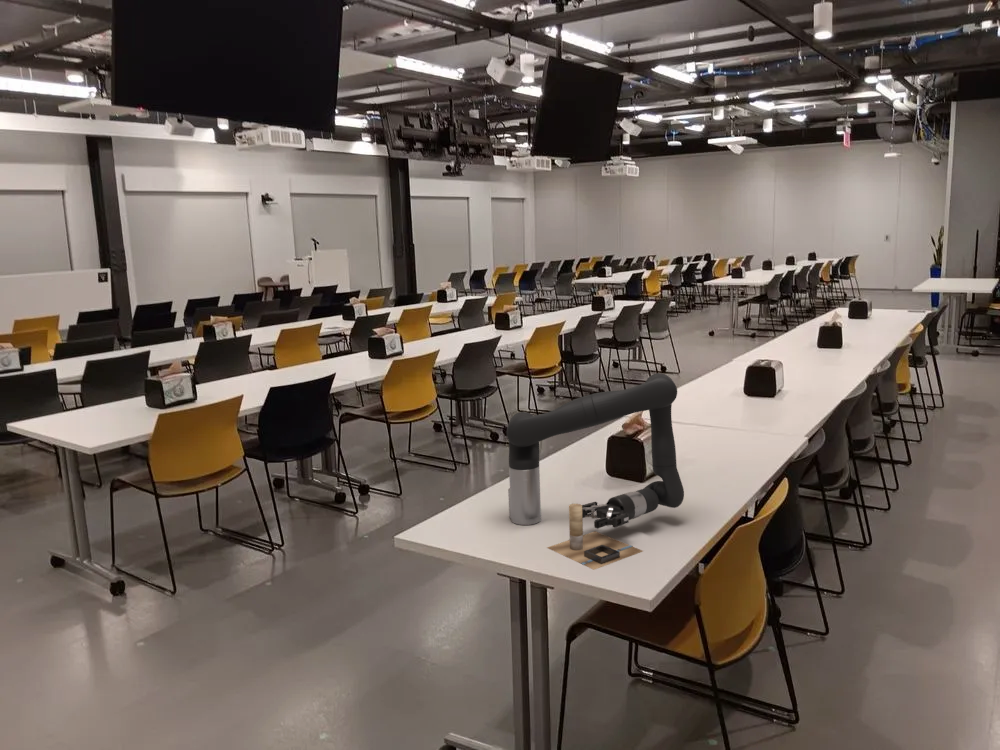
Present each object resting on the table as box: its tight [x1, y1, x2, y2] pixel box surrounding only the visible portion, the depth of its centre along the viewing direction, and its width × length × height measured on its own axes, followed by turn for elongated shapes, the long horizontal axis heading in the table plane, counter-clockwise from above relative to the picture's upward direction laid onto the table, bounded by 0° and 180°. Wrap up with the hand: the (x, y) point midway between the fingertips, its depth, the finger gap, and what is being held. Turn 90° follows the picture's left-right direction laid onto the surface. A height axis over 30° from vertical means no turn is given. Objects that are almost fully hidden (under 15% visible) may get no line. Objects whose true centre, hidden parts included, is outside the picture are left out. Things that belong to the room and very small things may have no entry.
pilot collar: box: [584, 545, 620, 564], centre depth 208 cm, size 7×7×2 cm
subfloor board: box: [546, 530, 644, 571], centre depth 213 cm, size 19×18×2 cm
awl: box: [568, 503, 584, 550], centre depth 214 cm, size 4×4×12 cm
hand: (584, 520), depth 215 cm, fingers open, 8 cm apart
